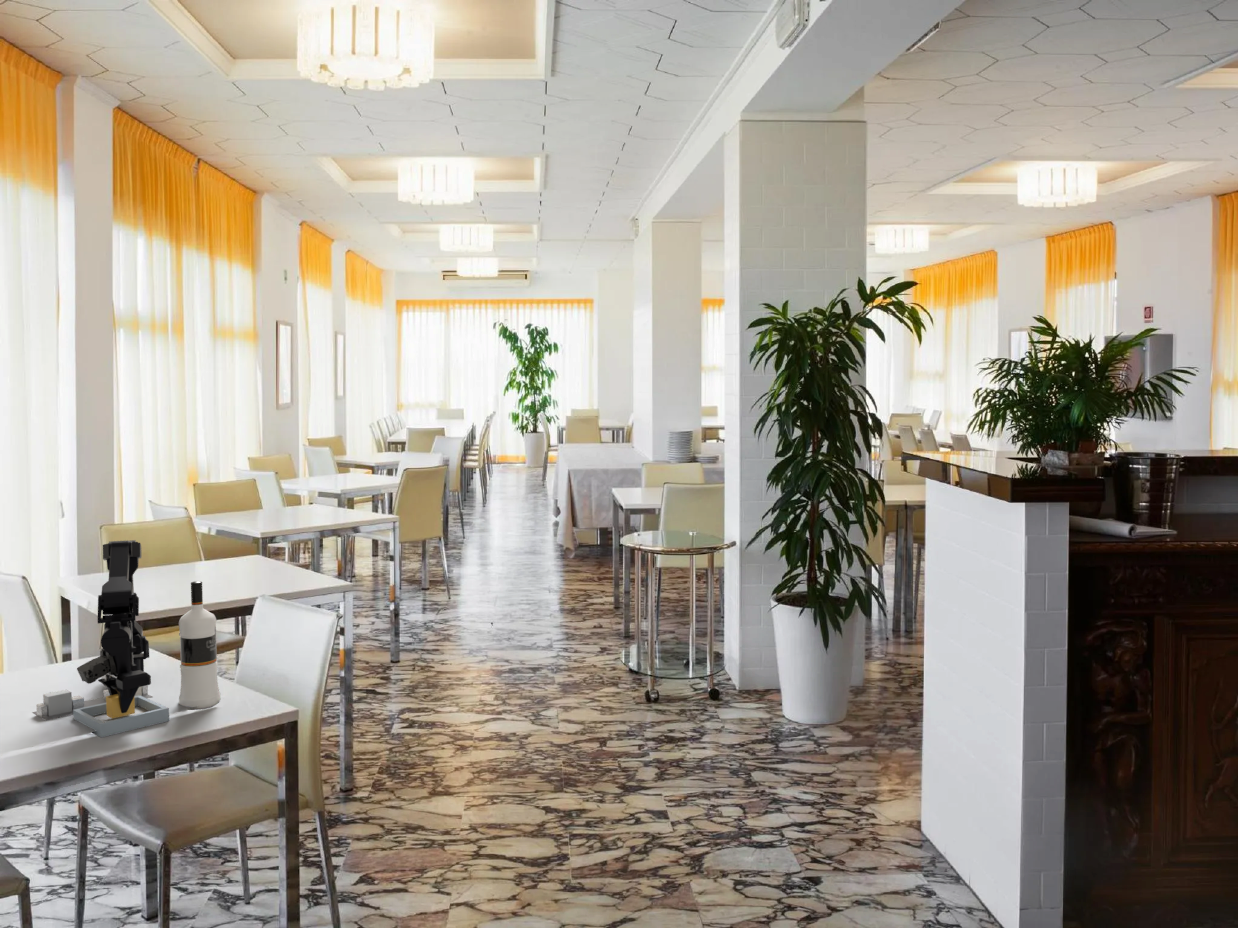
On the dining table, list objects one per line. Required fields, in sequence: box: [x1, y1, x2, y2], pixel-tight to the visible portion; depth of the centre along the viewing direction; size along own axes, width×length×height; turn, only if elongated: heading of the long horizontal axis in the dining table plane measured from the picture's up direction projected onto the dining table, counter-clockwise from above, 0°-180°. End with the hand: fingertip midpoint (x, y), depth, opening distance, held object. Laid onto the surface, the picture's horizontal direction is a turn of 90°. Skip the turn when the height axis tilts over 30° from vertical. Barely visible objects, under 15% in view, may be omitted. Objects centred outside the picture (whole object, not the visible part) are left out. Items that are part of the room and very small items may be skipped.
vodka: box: [178, 580, 221, 711], centre depth 243 cm, size 9×9×30 cm
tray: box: [72, 695, 170, 738], centre depth 231 cm, size 15×15×3 cm
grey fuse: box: [42, 689, 73, 716], centre depth 235 cm, size 5×3×4 cm, turn 139°
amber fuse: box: [106, 694, 136, 720], centre depth 231 cm, size 5×3×4 cm, turn 139°
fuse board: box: [31, 685, 154, 721], centre depth 241 cm, size 24×9×4 cm, turn 139°
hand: (121, 710), depth 231 cm, fingers closed on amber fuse, 3 cm apart
